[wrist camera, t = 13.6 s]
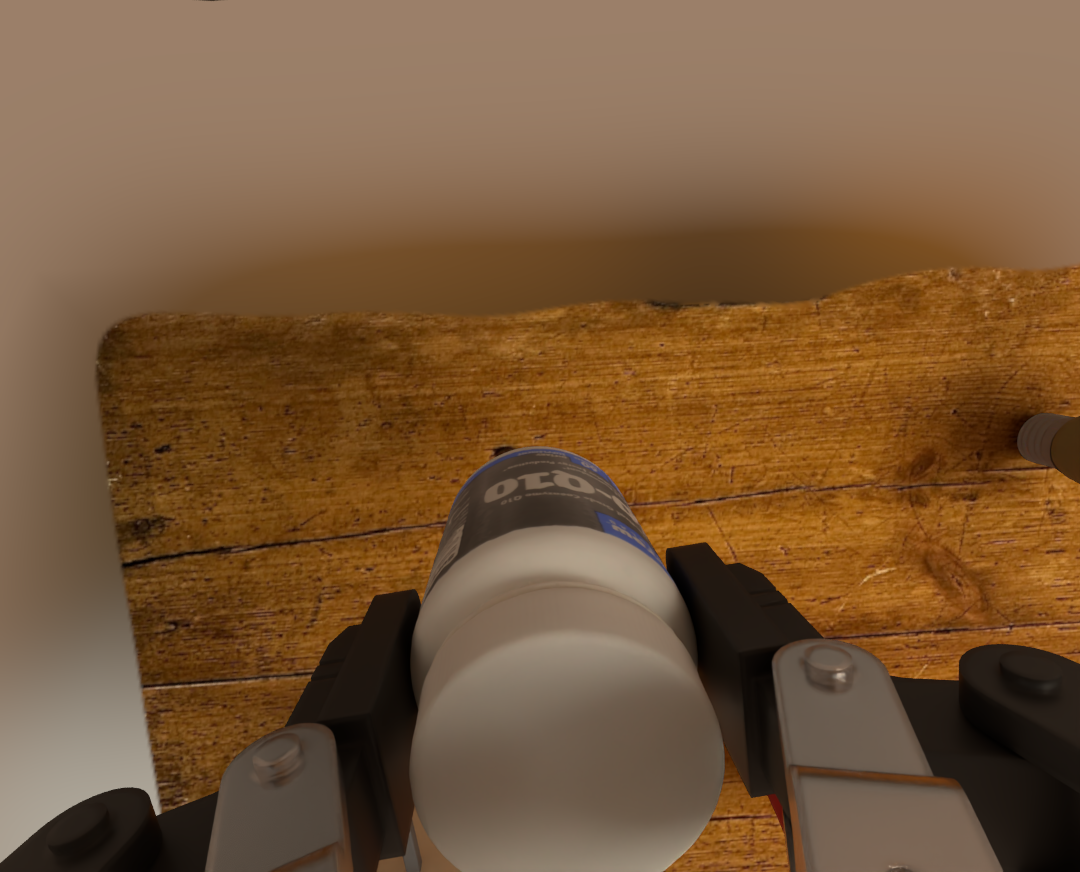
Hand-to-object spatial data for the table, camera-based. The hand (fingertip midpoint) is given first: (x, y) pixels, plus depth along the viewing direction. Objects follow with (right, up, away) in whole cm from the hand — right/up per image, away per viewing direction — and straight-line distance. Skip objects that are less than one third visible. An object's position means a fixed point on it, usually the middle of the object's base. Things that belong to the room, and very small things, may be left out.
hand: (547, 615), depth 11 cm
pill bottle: (0, +1, +5) cm, 5 cm away
